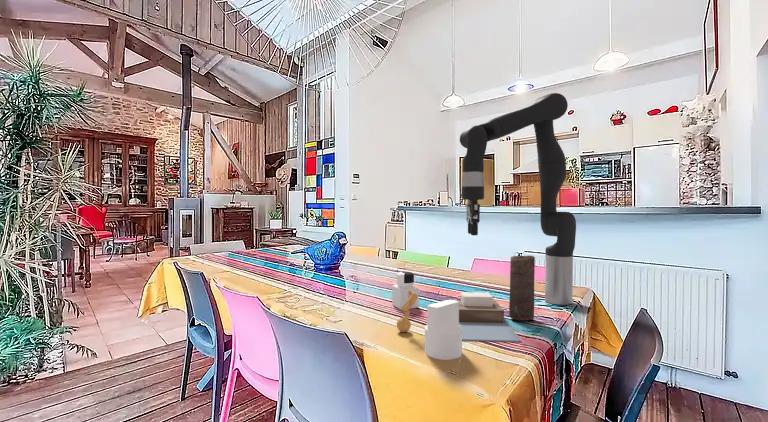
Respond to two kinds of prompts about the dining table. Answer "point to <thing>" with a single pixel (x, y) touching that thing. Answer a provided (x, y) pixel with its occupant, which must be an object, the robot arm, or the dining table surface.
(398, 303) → the medicine bottle
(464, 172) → the robot arm
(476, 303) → the white rectangular block
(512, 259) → the candle
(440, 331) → the cylinder with rectangular tab
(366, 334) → the dining table surface
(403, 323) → the figurine
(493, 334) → the mat
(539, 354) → the dining table surface
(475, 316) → the brown flat block
